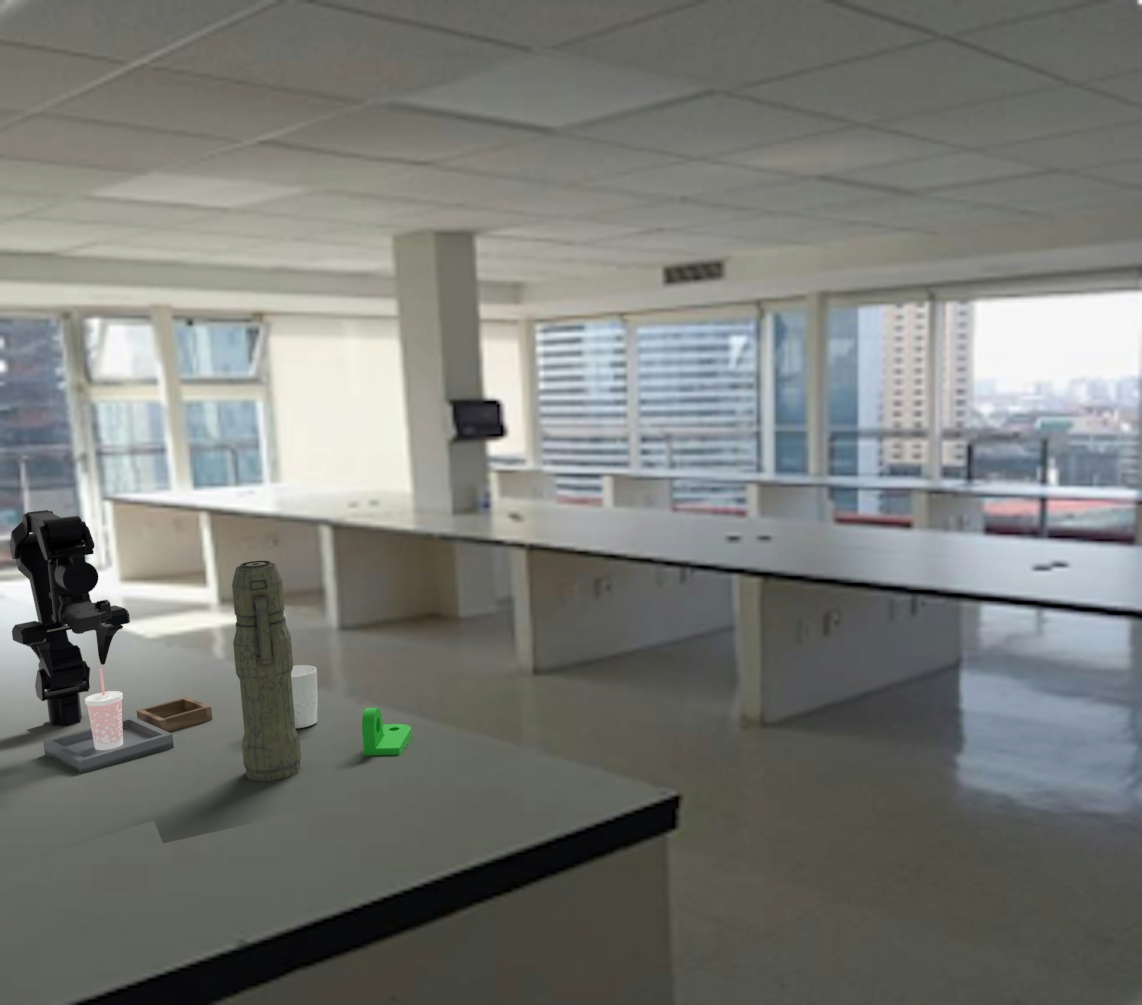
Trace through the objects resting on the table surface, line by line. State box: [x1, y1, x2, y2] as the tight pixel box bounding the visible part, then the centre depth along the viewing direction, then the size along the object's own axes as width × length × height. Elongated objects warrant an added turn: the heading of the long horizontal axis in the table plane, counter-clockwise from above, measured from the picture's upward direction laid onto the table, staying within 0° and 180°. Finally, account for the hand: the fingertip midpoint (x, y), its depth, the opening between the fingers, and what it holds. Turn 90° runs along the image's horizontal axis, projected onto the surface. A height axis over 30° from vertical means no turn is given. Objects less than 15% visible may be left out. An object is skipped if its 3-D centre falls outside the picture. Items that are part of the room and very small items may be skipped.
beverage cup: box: [84, 667, 124, 750], centre depth 182 cm, size 6×6×14 cm
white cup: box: [291, 664, 319, 729], centre depth 193 cm, size 8×8×10 cm
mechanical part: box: [361, 707, 413, 757], centre depth 179 cm, size 12×6×8 cm, turn 177°
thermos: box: [231, 560, 302, 782], centre depth 166 cm, size 9×12×35 cm
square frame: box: [136, 696, 213, 733], centre depth 198 cm, size 10×10×2 cm
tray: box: [42, 716, 175, 774], centre depth 183 cm, size 16×16×2 cm
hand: (77, 670), depth 189 cm, fingers open, 9 cm apart
